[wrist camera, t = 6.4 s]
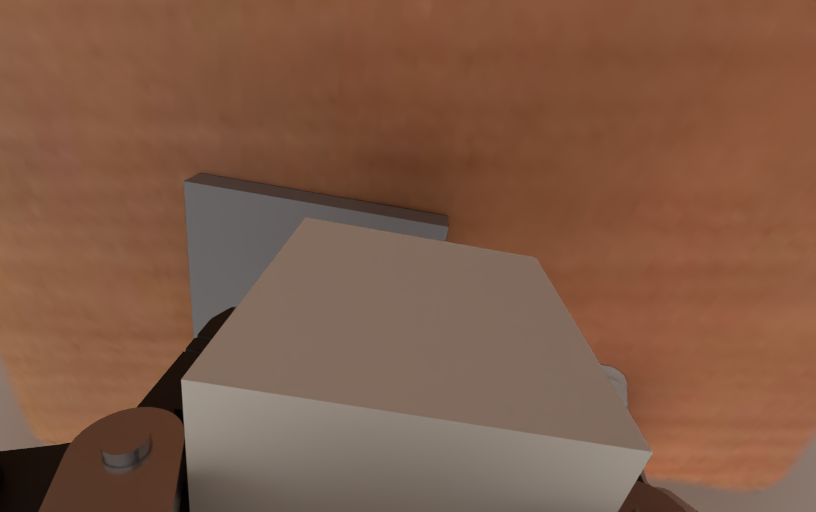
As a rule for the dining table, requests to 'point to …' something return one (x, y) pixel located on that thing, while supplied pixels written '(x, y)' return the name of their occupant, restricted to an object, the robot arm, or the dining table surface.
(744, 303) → the dining table surface
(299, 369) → the cube
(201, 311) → the slate board
